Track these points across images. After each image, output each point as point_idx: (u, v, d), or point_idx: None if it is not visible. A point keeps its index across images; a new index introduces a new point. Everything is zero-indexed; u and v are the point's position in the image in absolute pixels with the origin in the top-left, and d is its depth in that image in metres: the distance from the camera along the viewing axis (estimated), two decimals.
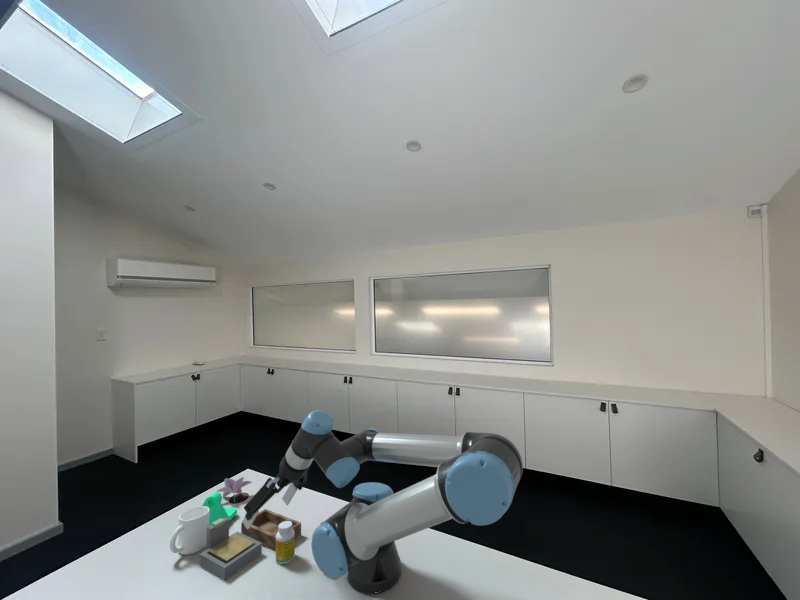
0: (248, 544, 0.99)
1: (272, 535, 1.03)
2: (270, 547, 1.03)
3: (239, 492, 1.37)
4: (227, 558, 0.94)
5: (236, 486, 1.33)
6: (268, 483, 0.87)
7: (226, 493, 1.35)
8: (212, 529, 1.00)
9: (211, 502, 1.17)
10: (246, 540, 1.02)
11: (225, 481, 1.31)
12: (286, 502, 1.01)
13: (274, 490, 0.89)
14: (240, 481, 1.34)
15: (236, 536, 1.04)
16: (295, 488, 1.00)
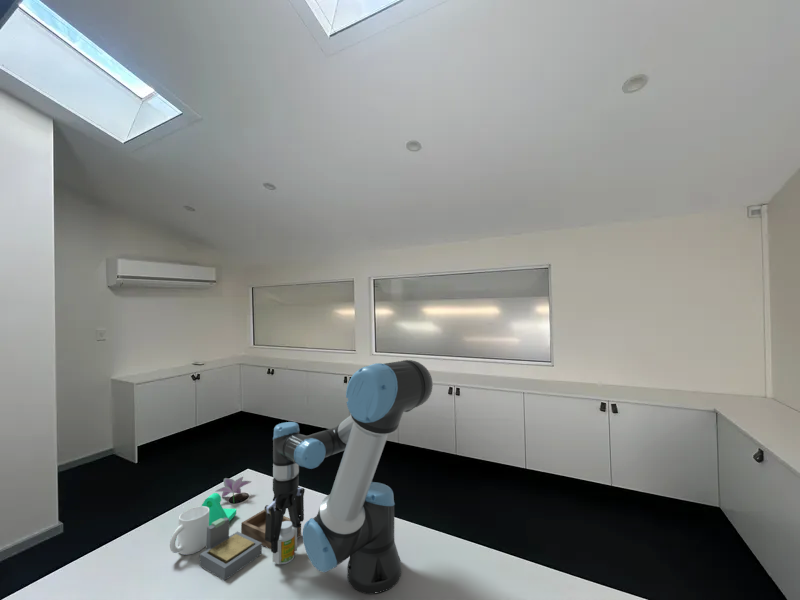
0: (248, 544, 0.99)
1: None
2: (270, 547, 1.03)
3: (238, 492, 1.37)
4: (227, 558, 0.94)
5: (235, 485, 1.33)
6: (266, 510, 0.94)
7: (225, 493, 1.35)
8: (212, 529, 1.00)
9: (210, 503, 1.17)
10: (246, 540, 1.02)
11: (224, 481, 1.31)
12: None
13: (279, 513, 0.97)
14: (239, 481, 1.34)
15: (236, 536, 1.04)
16: (294, 528, 1.01)
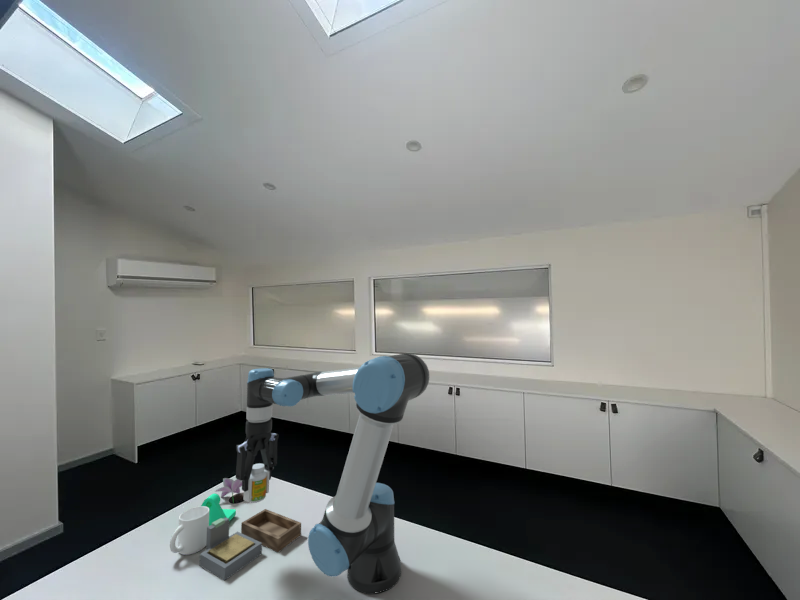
0: (248, 544, 0.99)
1: (272, 535, 1.03)
2: (270, 547, 1.03)
3: (237, 492, 1.37)
4: (227, 558, 0.94)
5: (235, 485, 1.33)
6: (238, 449, 0.96)
7: (224, 493, 1.35)
8: (212, 529, 1.00)
9: (209, 503, 1.17)
10: (246, 540, 1.02)
11: (224, 481, 1.31)
12: None
13: (251, 454, 0.99)
14: (239, 481, 1.34)
15: (236, 536, 1.04)
16: (267, 471, 1.03)
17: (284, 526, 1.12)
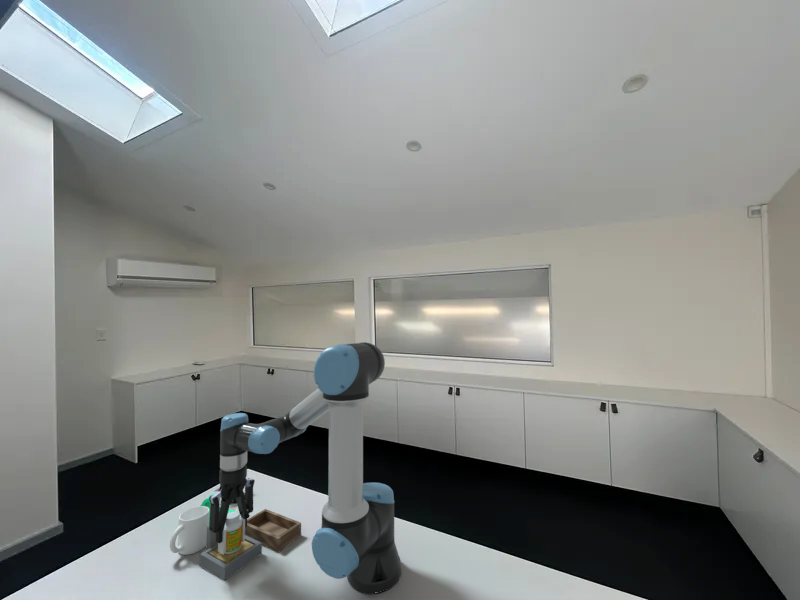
0: (248, 546, 0.99)
1: (272, 535, 1.03)
2: (270, 547, 1.03)
3: None
4: (227, 560, 0.93)
5: None
6: (211, 500, 0.94)
7: None
8: None
9: (209, 504, 1.16)
10: (246, 542, 1.01)
11: None
12: (241, 539, 1.01)
13: (225, 504, 0.97)
14: None
15: None
16: (242, 518, 1.01)
17: (284, 526, 1.12)
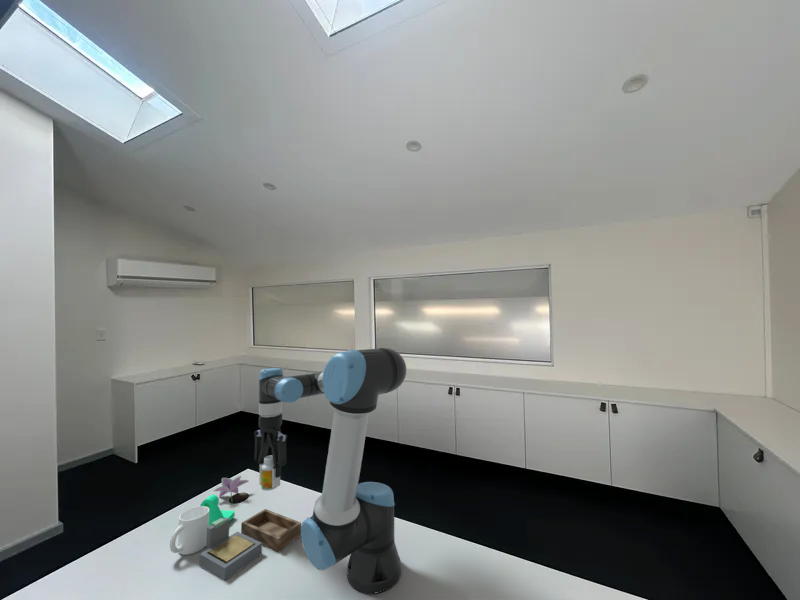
0: (248, 545, 0.99)
1: (272, 535, 1.03)
2: (270, 547, 1.03)
3: (235, 491, 1.37)
4: (227, 559, 0.93)
5: (233, 485, 1.34)
6: None
7: (223, 492, 1.35)
8: (212, 529, 1.00)
9: (208, 505, 1.16)
10: (246, 540, 1.01)
11: (222, 480, 1.32)
12: None
13: None
14: (237, 480, 1.35)
15: (236, 537, 1.03)
16: None
17: (284, 526, 1.12)
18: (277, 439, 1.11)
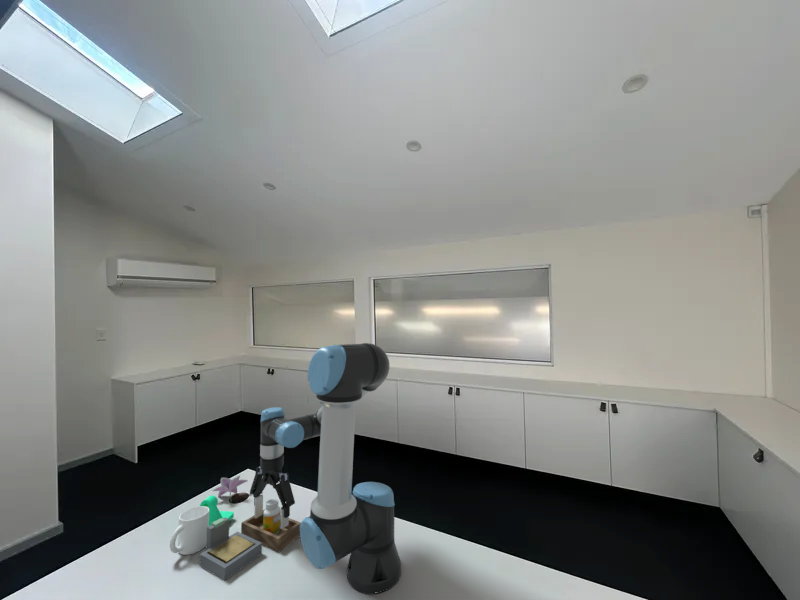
0: (248, 545, 0.99)
1: (272, 535, 1.03)
2: (270, 547, 1.03)
3: (234, 491, 1.38)
4: (227, 559, 0.93)
5: (232, 485, 1.34)
6: None
7: (222, 492, 1.35)
8: (212, 529, 1.00)
9: (207, 505, 1.15)
10: (246, 540, 1.01)
11: (221, 480, 1.32)
12: None
13: None
14: (236, 480, 1.35)
15: (236, 537, 1.03)
16: (283, 507, 1.07)
17: None
18: (278, 481, 1.10)
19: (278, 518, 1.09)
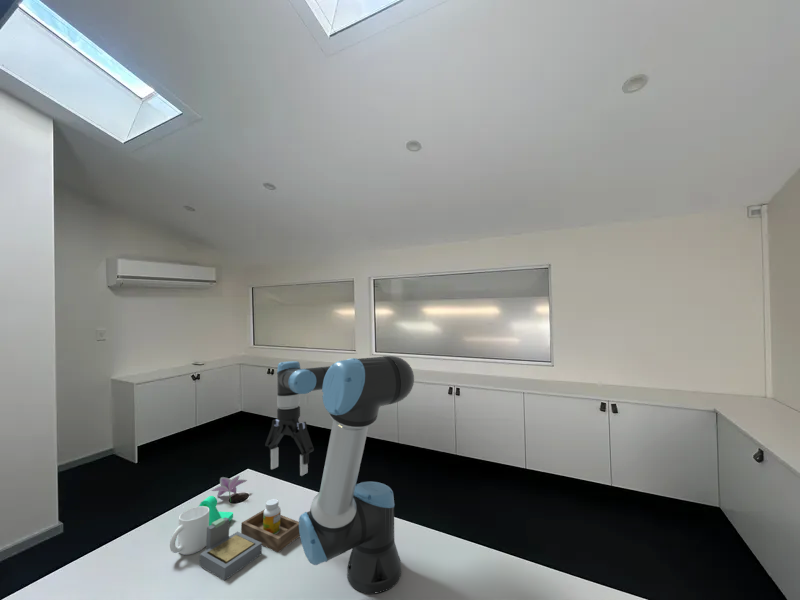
0: (248, 545, 0.99)
1: (272, 535, 1.03)
2: (270, 547, 1.03)
3: (234, 491, 1.38)
4: (227, 559, 0.93)
5: (232, 484, 1.34)
6: None
7: (221, 492, 1.35)
8: (212, 529, 1.00)
9: (206, 506, 1.15)
10: (246, 540, 1.01)
11: (221, 480, 1.32)
12: None
13: None
14: (236, 480, 1.35)
15: (236, 537, 1.03)
16: (302, 454, 1.08)
17: (284, 526, 1.12)
18: (296, 431, 1.12)
19: (278, 518, 1.09)
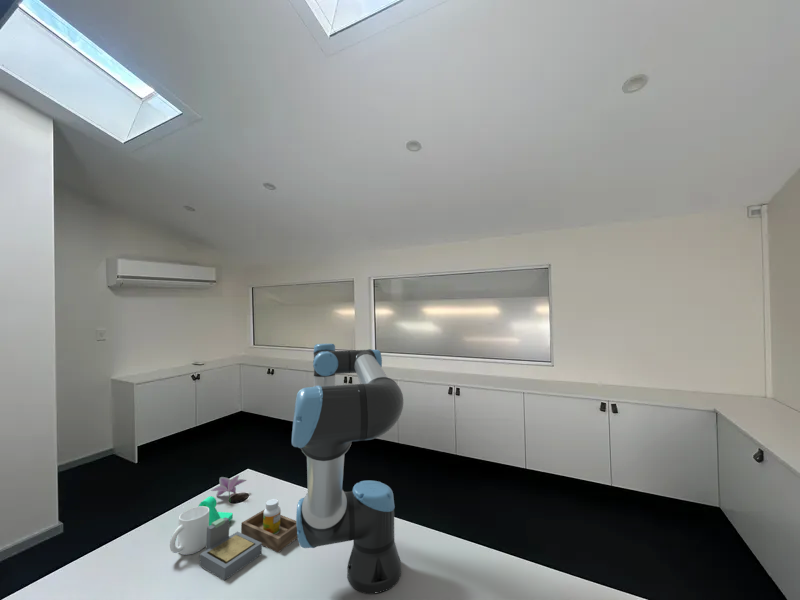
0: (248, 545, 0.99)
1: (272, 535, 1.03)
2: (270, 547, 1.03)
3: (233, 491, 1.38)
4: (227, 559, 0.93)
5: (231, 484, 1.34)
6: None
7: (220, 492, 1.35)
8: (212, 529, 1.00)
9: None
10: (246, 540, 1.01)
11: (220, 480, 1.32)
12: None
13: None
14: (235, 479, 1.35)
15: (236, 537, 1.03)
16: None
17: (284, 526, 1.12)
18: None
19: (278, 518, 1.09)
